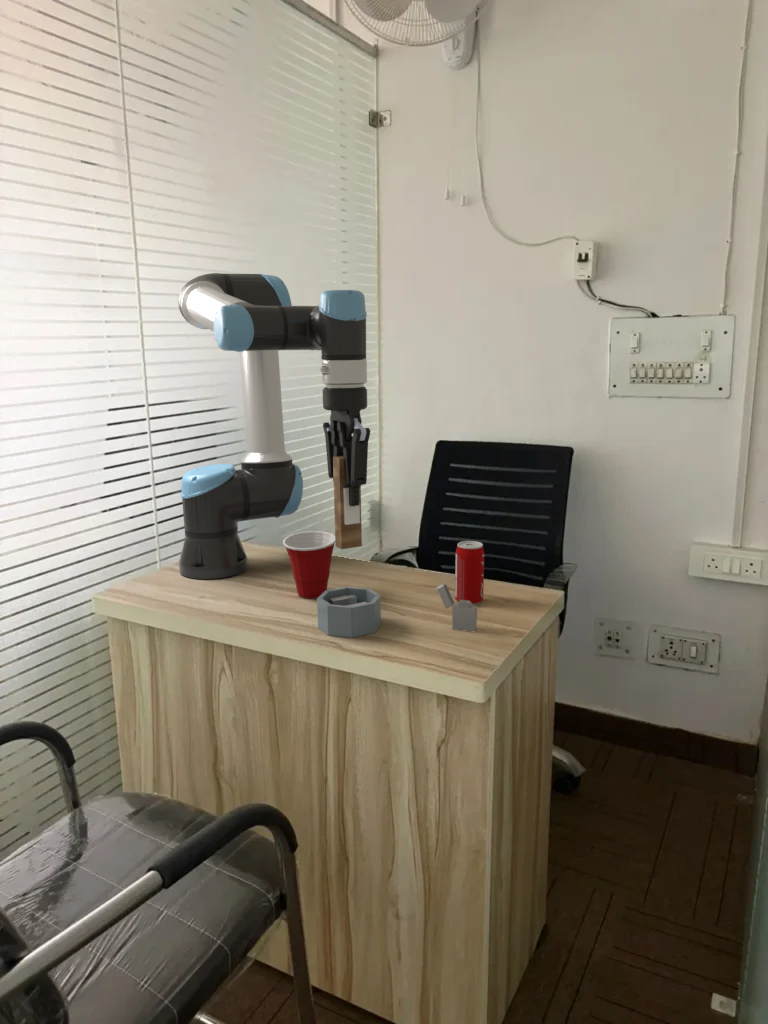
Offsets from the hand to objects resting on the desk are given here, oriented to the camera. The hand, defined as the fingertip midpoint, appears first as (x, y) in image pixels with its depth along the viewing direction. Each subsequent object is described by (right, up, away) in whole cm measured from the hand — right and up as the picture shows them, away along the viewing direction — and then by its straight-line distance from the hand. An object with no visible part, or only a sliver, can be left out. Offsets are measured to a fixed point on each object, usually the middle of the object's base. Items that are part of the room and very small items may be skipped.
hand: (347, 521), depth 130 cm
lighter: (+19, -19, +3) cm, 28 cm away
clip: (0, -19, +5) cm, 20 cm away
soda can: (+23, -16, +16) cm, 33 cm away
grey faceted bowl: (0, -19, +5) cm, 20 cm away
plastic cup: (-8, -15, +21) cm, 28 cm away
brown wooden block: (0, -4, +1) cm, 5 cm away
